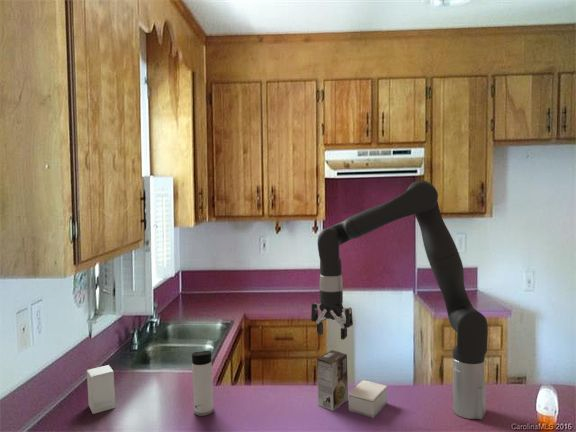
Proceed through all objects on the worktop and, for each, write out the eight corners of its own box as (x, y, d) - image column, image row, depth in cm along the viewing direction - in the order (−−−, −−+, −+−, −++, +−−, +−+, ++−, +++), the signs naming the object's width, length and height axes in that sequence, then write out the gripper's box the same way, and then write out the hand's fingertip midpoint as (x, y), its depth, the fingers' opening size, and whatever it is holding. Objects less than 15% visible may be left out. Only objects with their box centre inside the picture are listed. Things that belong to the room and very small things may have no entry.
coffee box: (332, 395, 153) (331, 349, 152) (348, 400, 149) (347, 353, 148) (317, 405, 146) (316, 357, 145) (333, 411, 142) (332, 362, 141)
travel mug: (195, 418, 140) (192, 356, 139) (193, 408, 146) (190, 349, 145) (214, 414, 142) (212, 353, 140) (212, 405, 148) (210, 346, 147)
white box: (387, 403, 146) (386, 388, 146) (373, 418, 137) (373, 402, 137) (363, 396, 151) (363, 382, 150) (348, 410, 142) (348, 395, 141)
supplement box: (116, 407, 148) (114, 371, 147) (92, 414, 144) (90, 376, 143) (111, 399, 154) (109, 364, 153) (88, 405, 150) (86, 369, 149)
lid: (386, 387, 146) (386, 385, 145) (373, 401, 136) (373, 399, 136) (363, 381, 150) (363, 380, 150) (348, 394, 141) (348, 392, 141)
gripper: (306, 288, 146) (307, 336, 147) (345, 293, 138) (346, 344, 139) (318, 283, 152) (319, 330, 153) (355, 288, 144) (356, 337, 145)
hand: (331, 336), depth 146 cm, fingers open, 8 cm apart
